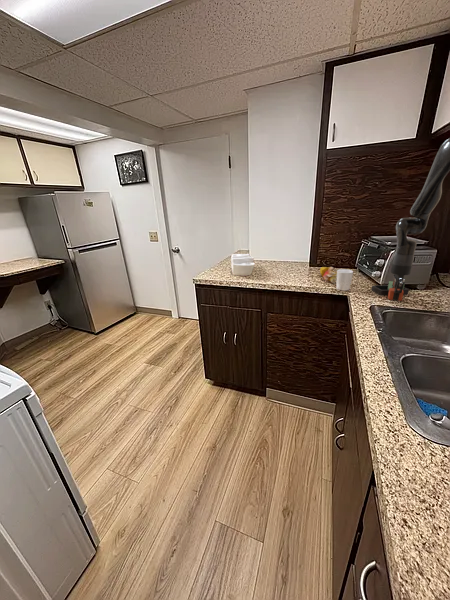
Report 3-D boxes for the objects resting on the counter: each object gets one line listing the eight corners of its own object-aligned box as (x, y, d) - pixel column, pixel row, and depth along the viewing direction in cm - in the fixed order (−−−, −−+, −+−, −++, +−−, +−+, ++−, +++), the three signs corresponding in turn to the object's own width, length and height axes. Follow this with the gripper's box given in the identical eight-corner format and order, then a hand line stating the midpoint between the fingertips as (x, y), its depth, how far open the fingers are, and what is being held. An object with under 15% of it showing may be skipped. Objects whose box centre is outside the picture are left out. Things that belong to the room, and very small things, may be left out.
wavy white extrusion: (231, 265, 198) (230, 252, 194) (251, 264, 197) (251, 251, 193) (230, 277, 165) (230, 261, 162) (255, 276, 165) (255, 261, 161)
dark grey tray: (397, 288, 131) (398, 284, 131) (408, 294, 124) (409, 289, 123) (371, 290, 131) (372, 285, 131) (380, 295, 124) (381, 290, 123)
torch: (322, 279, 165) (337, 286, 141) (312, 273, 165) (324, 279, 141) (329, 268, 163) (345, 273, 139) (318, 262, 163) (332, 266, 139)
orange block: (400, 297, 120) (402, 288, 118) (401, 300, 116) (403, 291, 114) (387, 296, 122) (389, 287, 120) (388, 299, 118) (390, 290, 117)
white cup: (353, 289, 134) (356, 271, 130) (344, 292, 130) (347, 273, 127) (341, 285, 140) (343, 268, 137) (331, 288, 137) (333, 270, 133)
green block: (397, 289, 129) (399, 280, 128) (402, 291, 125) (404, 283, 124) (387, 289, 129) (389, 281, 128) (392, 292, 125) (394, 283, 124)
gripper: (415, 267, 105) (406, 304, 111) (409, 260, 117) (401, 294, 123) (394, 266, 108) (387, 302, 115) (390, 259, 120) (384, 292, 126)
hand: (394, 298), depth 119 cm, fingers closed on orange block, 4 cm apart
